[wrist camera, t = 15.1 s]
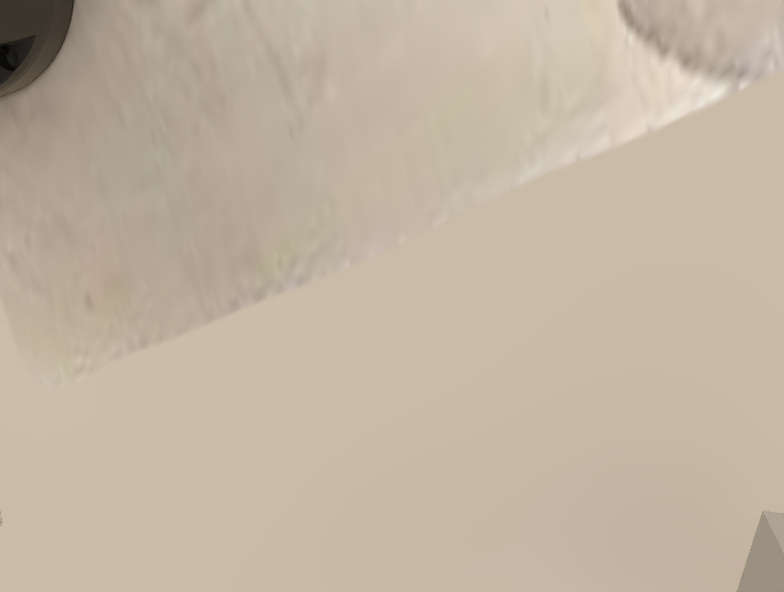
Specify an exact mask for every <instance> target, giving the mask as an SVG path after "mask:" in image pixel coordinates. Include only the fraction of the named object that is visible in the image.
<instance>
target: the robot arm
mask: <svg viewBox="0 0 784 592" xmlns="http://www.w3.org/2000/svg"><path fill="white" fill-rule="evenodd" d="M72 4H73V0H0V96H3V95H6V94H9V93H12V92H14V91H17V90H19V89H21V88H22V87H24V86H26V85H27V84H29V83H30V82H32V81H33V80H34V79H35V78H37V77H38V76H39V75H40V74H41V73H42V72H43V71H44V70H45V69H46V68H47V66H48V65H49V64H50V63H51V61H52V60H53V58H54V57H55V55H56V54H57V52H58V50H59V48H60V46H61V44H62V42H63V40H64V37H65V34H66V32H67V28H68V25H69V21H70V16H71V11H72ZM1 524H2V519H1V513H0V525H1ZM737 592H784V514H783V513H777V512H769V511H762V515H761V518H760V521H759V524H758V527H757V530H756V533H755V537H754V540H753V543H752V546H751V549H750V552H749V555H748V558H747V562H746V565H745V568H744V571H743V574H742V577H741V580H740V583H739V587H738V590H737Z"/></svg>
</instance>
